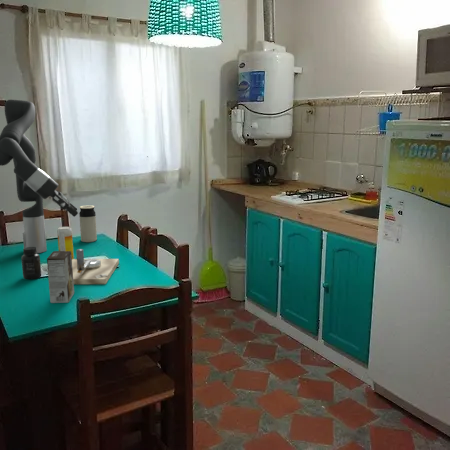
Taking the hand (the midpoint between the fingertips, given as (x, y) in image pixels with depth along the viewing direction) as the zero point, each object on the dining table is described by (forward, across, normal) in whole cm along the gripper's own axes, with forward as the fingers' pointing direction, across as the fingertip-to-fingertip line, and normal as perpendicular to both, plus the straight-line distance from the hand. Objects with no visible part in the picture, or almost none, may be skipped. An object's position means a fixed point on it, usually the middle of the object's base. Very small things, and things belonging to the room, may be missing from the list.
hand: (76, 213), depth 180 cm
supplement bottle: (+7, +11, +32) cm, 34 cm away
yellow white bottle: (+16, +30, +22) cm, 40 cm away
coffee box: (+15, -17, +24) cm, 33 cm away
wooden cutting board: (+22, +9, +16) cm, 28 cm away
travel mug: (+23, +64, +12) cm, 69 cm away
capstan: (+19, +6, +15) cm, 25 cm away
